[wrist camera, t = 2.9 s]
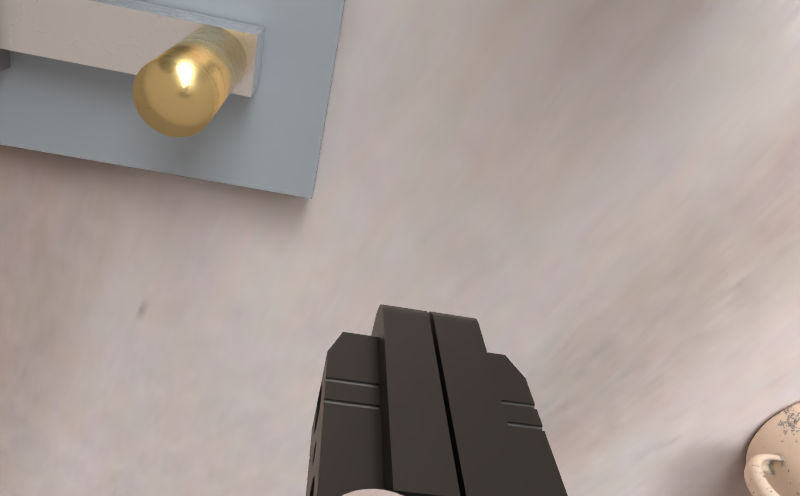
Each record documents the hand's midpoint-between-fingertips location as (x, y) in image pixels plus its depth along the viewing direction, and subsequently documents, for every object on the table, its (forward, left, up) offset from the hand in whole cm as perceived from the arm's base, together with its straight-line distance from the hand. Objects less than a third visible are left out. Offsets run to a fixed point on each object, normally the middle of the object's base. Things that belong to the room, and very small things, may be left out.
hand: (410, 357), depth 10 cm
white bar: (+10, 0, -19) cm, 22 cm away
